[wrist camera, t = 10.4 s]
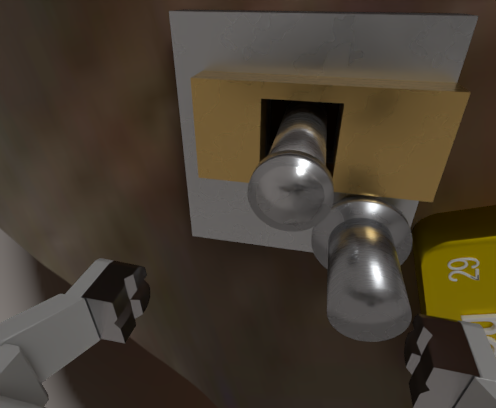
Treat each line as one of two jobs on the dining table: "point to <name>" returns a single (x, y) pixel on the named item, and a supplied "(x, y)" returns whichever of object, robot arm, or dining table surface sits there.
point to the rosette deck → (345, 142)
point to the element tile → (458, 266)
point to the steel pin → (294, 172)
